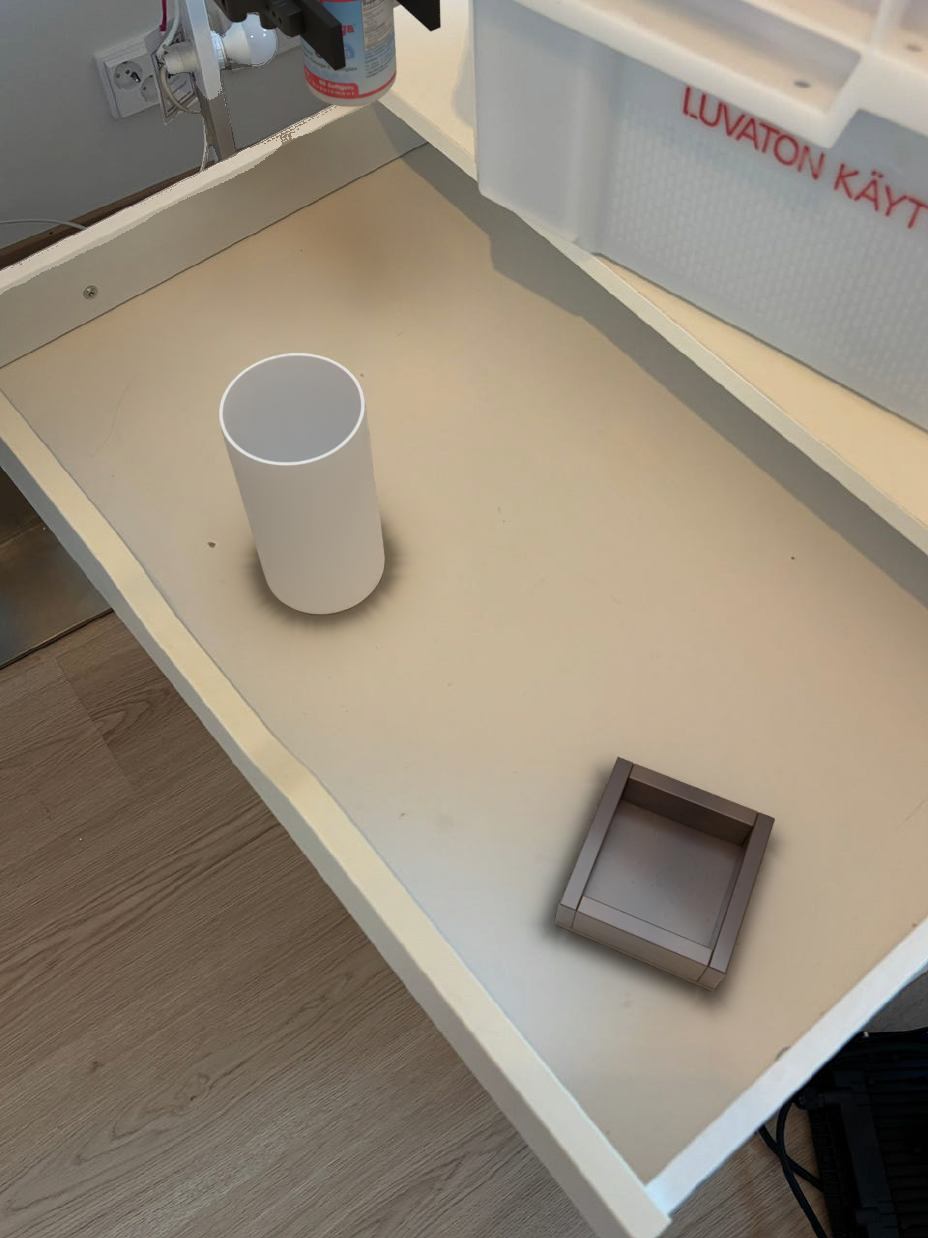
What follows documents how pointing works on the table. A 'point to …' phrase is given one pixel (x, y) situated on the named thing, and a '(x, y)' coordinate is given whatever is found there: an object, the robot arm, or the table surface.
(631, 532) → the table surface
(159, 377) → the table surface
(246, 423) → the cup
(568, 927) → the brown square shallow tray
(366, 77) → the pill bottle
